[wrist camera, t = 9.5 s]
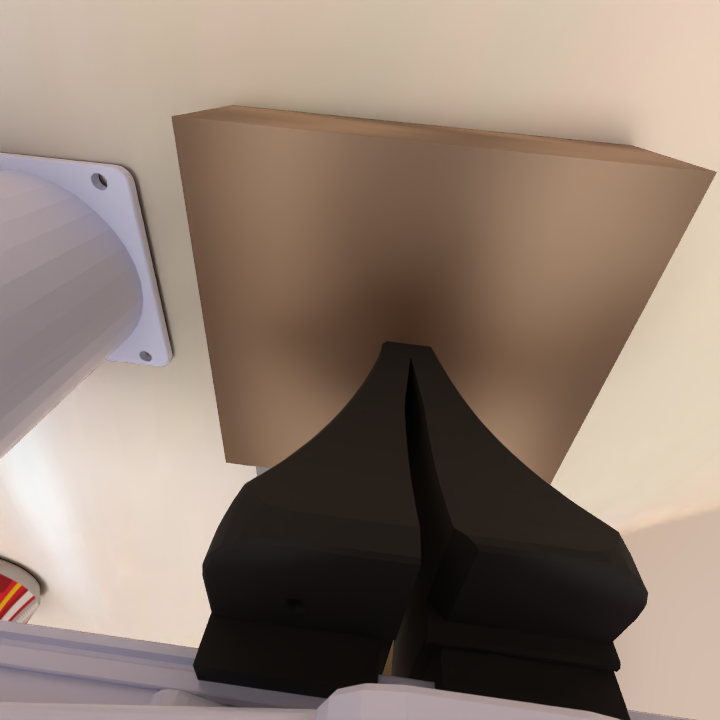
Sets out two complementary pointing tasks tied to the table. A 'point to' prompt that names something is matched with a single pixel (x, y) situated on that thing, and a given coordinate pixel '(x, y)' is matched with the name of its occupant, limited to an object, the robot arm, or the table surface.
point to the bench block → (419, 267)
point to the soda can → (17, 593)
